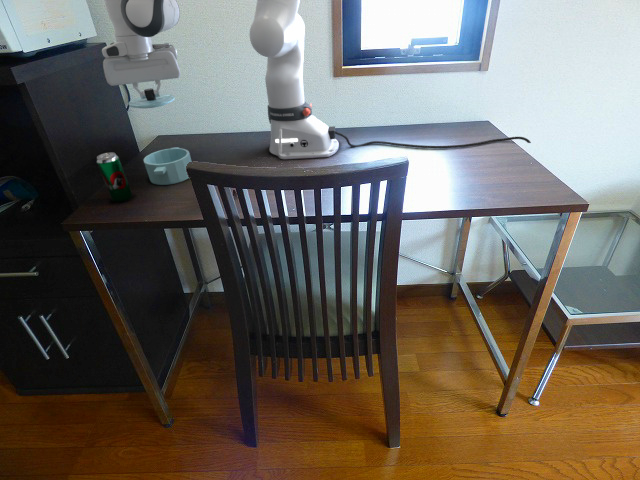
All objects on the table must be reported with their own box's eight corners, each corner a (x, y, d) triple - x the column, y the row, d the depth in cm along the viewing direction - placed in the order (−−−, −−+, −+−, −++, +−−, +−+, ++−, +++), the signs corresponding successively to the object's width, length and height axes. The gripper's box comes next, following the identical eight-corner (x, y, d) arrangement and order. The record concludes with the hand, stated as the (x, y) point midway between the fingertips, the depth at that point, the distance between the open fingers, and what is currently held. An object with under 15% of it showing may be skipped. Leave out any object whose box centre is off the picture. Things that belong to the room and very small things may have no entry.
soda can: (136, 194, 103) (121, 151, 97) (127, 203, 99) (110, 159, 93) (119, 194, 104) (102, 151, 97) (108, 203, 100) (90, 159, 93)
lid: (180, 96, 122) (176, 82, 119) (169, 108, 111) (164, 93, 108) (138, 100, 121) (133, 86, 119) (122, 111, 111) (117, 96, 108)
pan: (199, 162, 120) (195, 143, 117) (186, 187, 105) (180, 166, 102) (159, 165, 120) (154, 146, 117) (141, 190, 105) (133, 170, 102)
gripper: (174, 41, 112) (186, 90, 120) (98, 48, 108) (115, 99, 115) (174, 43, 107) (186, 95, 115) (95, 51, 103) (113, 104, 110)
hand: (150, 97), depth 115 cm, fingers closed on lid, 2 cm apart
